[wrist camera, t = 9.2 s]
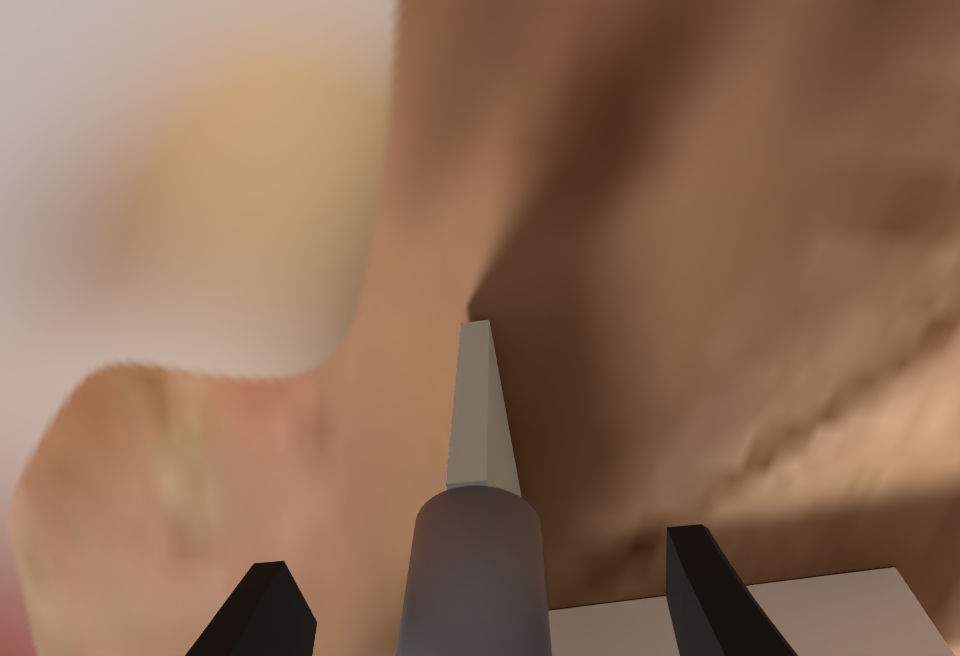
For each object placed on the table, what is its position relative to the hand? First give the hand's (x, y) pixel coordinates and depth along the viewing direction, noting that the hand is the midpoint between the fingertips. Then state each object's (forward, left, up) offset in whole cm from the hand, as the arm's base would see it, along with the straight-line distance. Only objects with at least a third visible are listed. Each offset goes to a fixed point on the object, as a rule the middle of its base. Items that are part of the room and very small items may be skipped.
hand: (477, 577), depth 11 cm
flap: (0, -5, -7) cm, 9 cm away
